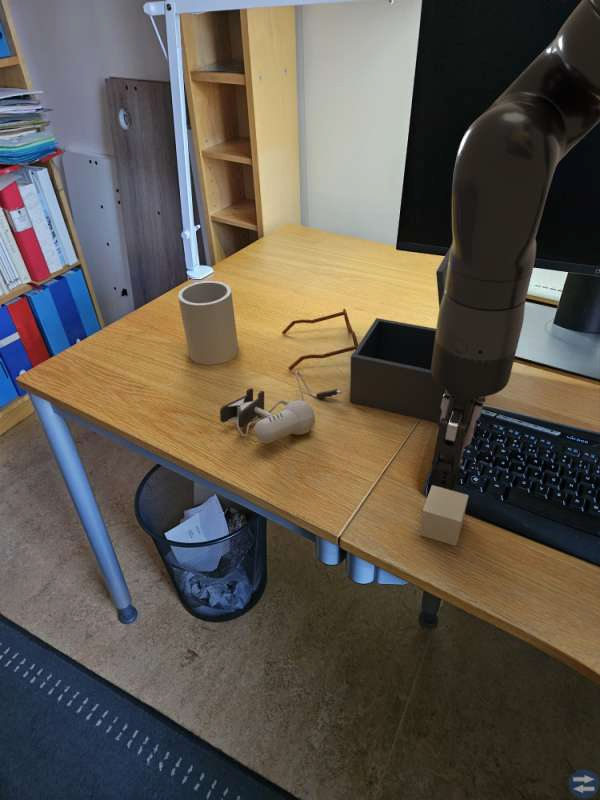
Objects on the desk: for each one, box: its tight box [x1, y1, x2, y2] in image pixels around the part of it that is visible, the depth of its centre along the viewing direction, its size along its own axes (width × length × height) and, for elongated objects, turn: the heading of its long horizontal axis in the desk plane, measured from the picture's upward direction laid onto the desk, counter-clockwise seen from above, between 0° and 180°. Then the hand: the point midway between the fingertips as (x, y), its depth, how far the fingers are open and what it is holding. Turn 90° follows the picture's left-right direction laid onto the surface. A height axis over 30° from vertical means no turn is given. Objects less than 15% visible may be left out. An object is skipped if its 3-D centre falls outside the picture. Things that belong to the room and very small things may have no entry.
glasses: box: [281, 308, 359, 371], centre depth 102 cm, size 13×13×5 cm
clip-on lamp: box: [219, 370, 343, 444], centre depth 85 cm, size 12×6×18 cm
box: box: [349, 317, 448, 424], centre depth 89 cm, size 15×13×9 cm
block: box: [419, 484, 469, 547], centre depth 68 cm, size 4×4×4 cm
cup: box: [177, 280, 239, 366], centre depth 100 cm, size 9×9×12 cm
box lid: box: [435, 244, 452, 310], centre depth 80 cm, size 15×13×1 cm
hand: (452, 460), depth 63 cm, fingers open, 8 cm apart
